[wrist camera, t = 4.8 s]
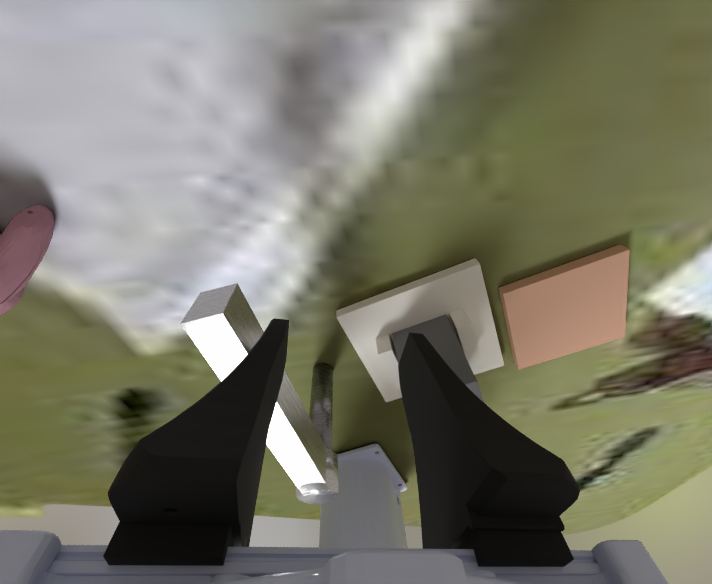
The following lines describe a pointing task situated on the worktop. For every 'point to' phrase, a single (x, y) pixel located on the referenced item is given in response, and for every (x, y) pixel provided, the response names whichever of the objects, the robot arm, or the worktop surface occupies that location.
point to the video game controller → (22, 251)
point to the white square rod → (290, 419)
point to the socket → (405, 309)
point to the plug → (441, 348)
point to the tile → (567, 307)
